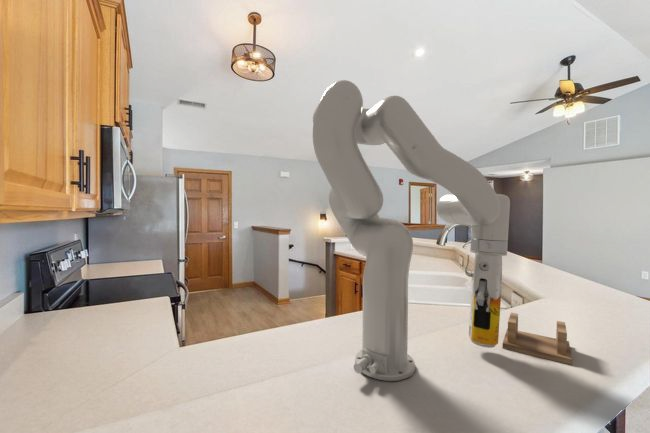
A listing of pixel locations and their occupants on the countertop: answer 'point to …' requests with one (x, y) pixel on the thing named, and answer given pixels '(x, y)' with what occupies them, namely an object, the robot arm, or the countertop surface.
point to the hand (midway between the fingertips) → (484, 323)
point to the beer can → (490, 336)
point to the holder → (538, 342)
